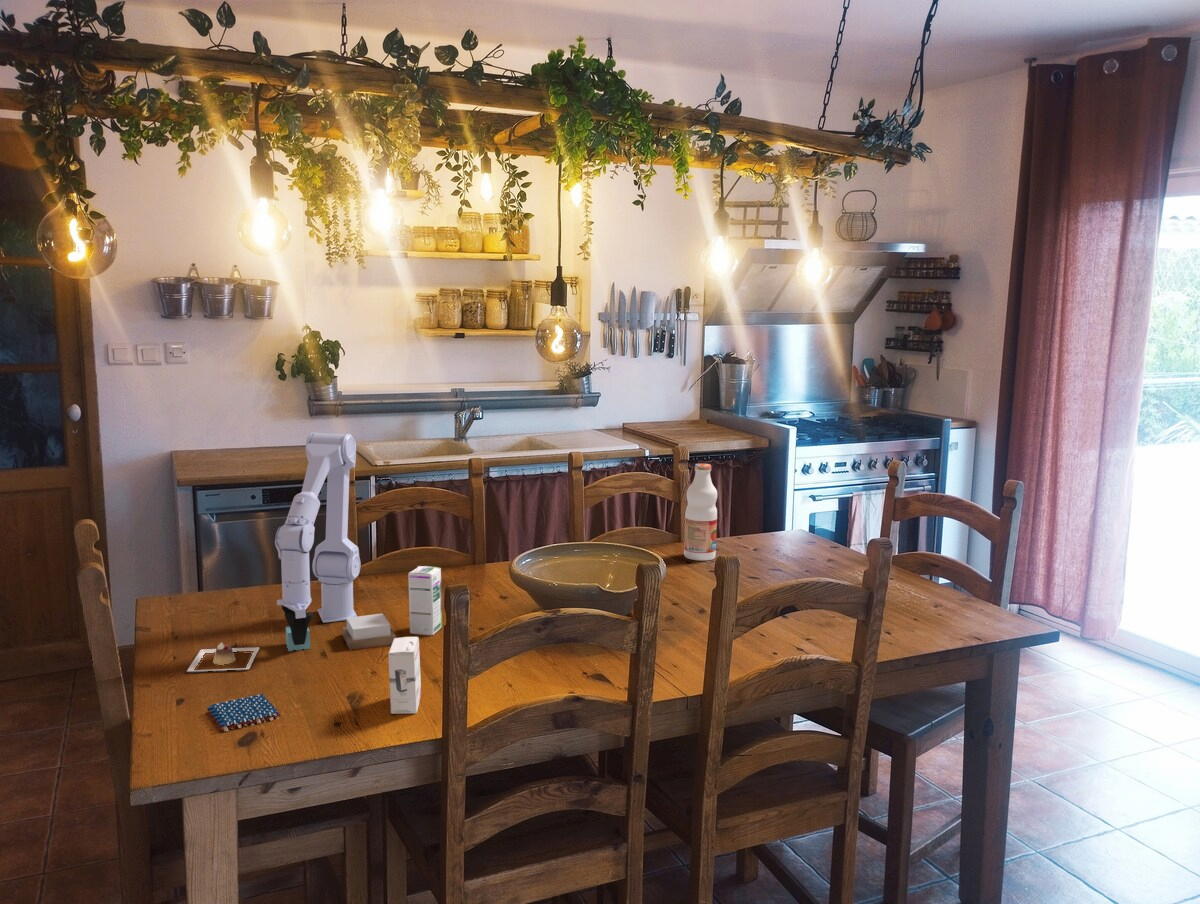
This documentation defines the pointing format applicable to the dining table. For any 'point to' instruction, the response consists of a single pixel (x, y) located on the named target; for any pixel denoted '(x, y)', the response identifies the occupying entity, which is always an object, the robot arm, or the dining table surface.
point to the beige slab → (367, 640)
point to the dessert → (222, 657)
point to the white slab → (368, 626)
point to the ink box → (404, 675)
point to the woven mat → (242, 712)
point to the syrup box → (425, 600)
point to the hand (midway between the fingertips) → (297, 640)
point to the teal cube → (291, 644)
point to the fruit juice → (701, 516)
